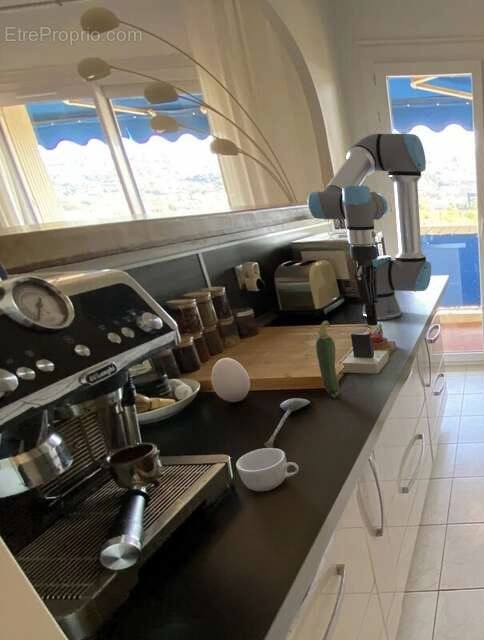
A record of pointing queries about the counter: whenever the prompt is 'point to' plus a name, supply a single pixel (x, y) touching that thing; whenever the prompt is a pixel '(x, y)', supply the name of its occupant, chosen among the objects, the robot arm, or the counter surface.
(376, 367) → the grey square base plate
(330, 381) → the vegetable
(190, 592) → the counter surface
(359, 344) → the dark grey block
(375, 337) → the button
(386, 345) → the button block
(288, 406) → the soupspoon
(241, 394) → the egg
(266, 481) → the teacup
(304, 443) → the counter surface
